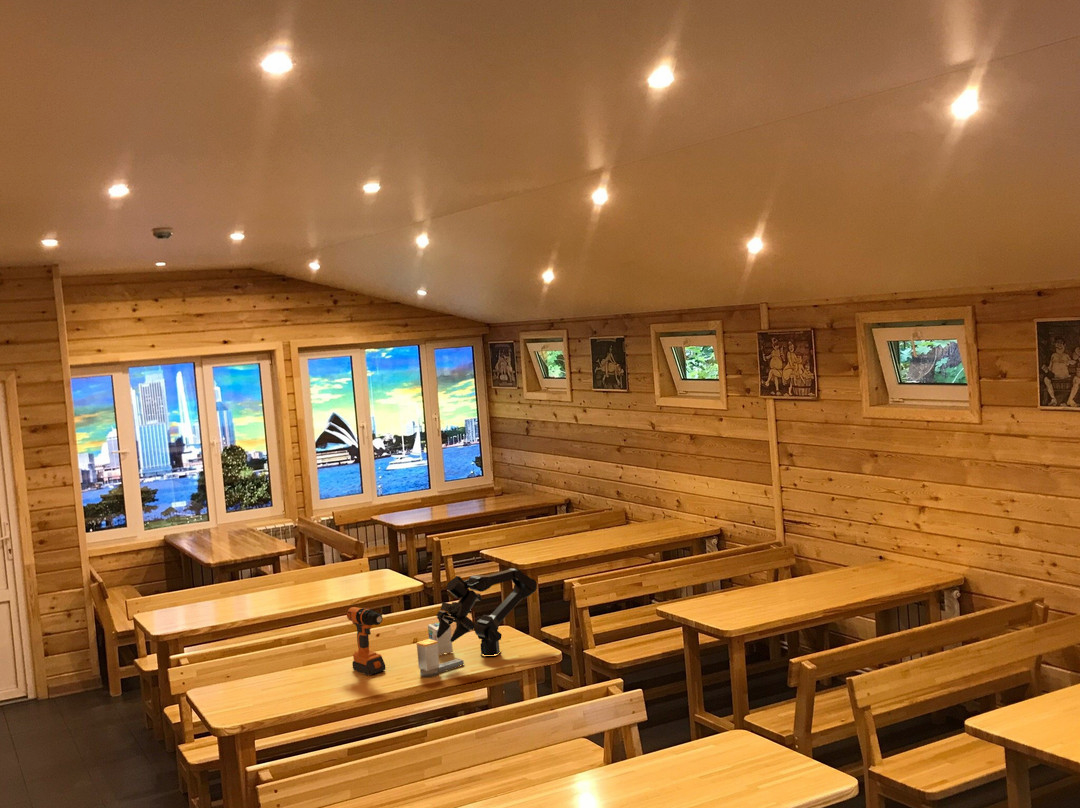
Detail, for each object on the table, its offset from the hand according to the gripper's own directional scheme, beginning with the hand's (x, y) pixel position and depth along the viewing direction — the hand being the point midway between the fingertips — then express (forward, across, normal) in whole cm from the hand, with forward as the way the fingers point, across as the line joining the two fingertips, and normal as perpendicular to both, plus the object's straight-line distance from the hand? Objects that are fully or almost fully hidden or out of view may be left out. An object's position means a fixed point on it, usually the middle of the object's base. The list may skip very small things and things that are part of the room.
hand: (444, 639), depth 392 cm
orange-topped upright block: (+12, 0, +1) cm, 12 cm away
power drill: (+22, -22, -6) cm, 32 cm away
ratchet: (+10, 0, +6) cm, 12 cm away
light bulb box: (0, -21, +17) cm, 27 cm away
